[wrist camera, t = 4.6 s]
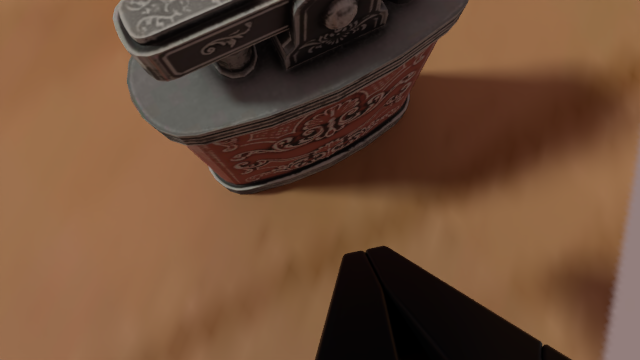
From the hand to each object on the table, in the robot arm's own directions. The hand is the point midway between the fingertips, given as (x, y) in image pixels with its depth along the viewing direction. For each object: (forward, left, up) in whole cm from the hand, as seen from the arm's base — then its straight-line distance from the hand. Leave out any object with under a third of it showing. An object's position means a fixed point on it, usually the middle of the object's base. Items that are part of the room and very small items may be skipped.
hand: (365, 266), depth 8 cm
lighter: (+5, 0, -8) cm, 9 cm away
